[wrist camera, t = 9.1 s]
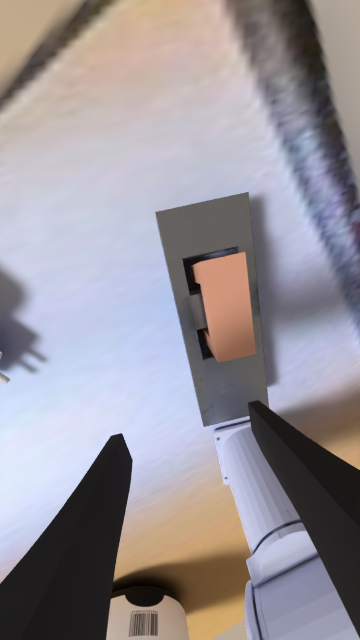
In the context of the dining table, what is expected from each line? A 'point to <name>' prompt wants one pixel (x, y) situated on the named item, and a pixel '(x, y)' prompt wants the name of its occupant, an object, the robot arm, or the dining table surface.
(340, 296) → the dining table surface
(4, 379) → the charger
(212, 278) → the orange u-shaped block
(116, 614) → the milk container
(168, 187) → the dining table surface
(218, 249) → the gray rectangular frame
